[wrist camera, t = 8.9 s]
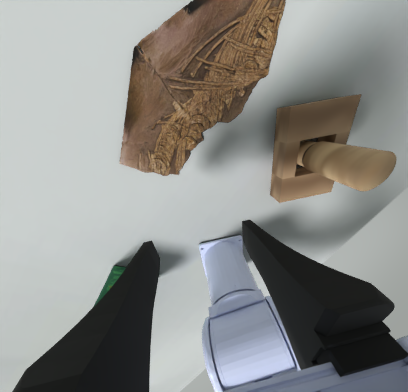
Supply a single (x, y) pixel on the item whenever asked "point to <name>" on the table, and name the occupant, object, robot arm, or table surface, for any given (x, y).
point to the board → (302, 130)
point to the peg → (347, 163)
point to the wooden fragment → (195, 78)
